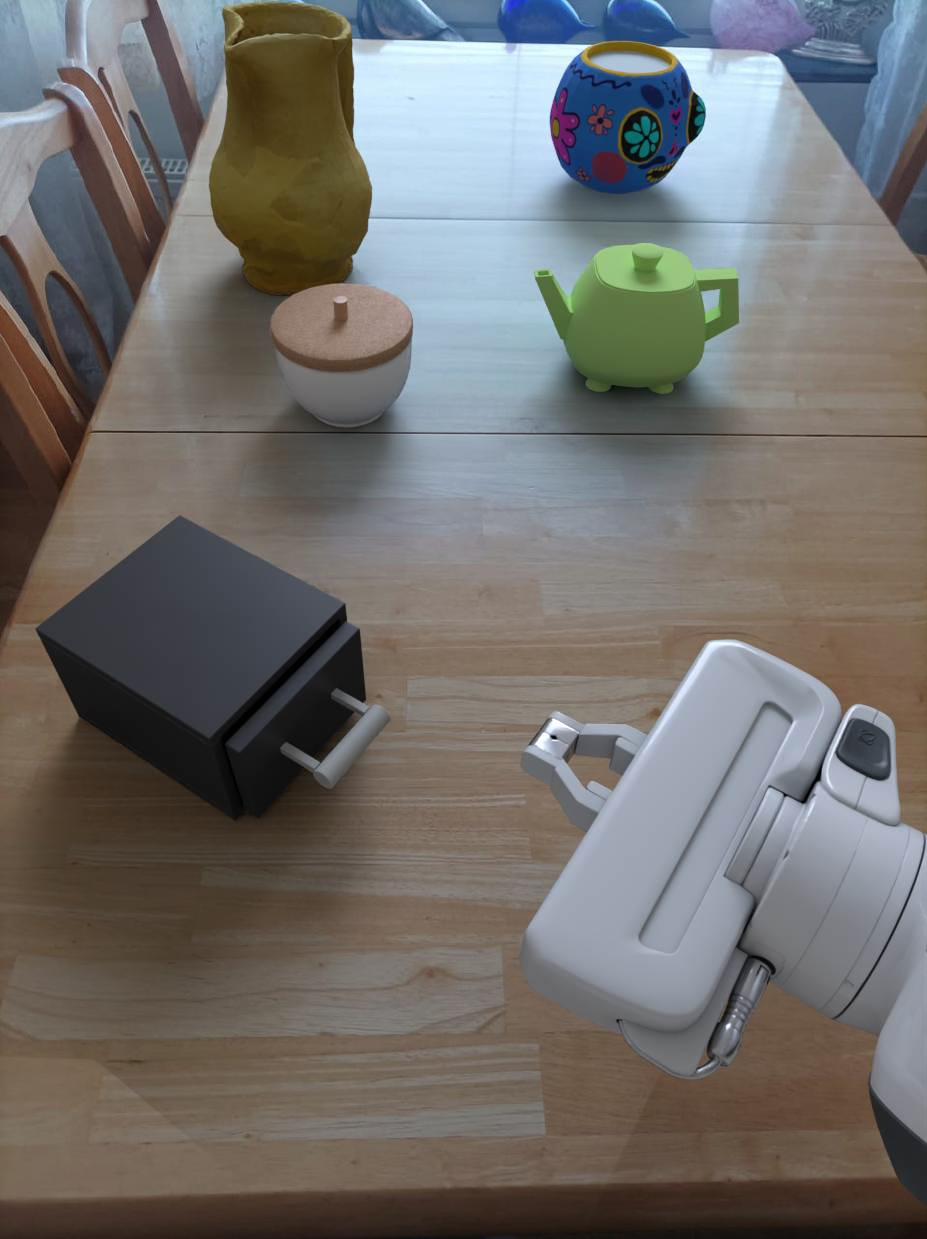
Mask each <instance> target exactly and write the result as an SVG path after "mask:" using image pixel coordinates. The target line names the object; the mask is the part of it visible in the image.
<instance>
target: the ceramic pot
mask: <svg viewBox="0 0 927 1239" xmlns="http://www.w3.org/2000/svg"><path fill="white" fill-rule="evenodd" d="M551 103H552V104H551V107H550V113H549V131H550V138H551V140H552V145H553V147H554V152H555V154H556V157H557V159H558V162H559V164H560V167H561V169H563V171H564V172H565V173H566V174H567V175H568V176H569V178H571V179H572V180H574V181H576V182H577V183H578V184H580V185H582V186H583V187H586V188H588V189H591V190H593V191H596V192H599V193H603V194H609V195H625V194H631V193H636V192H640V191H644V190H646V189H649V188H652V187H653V186H656V185H657V184H659V183H661V182H662V181H663V180H664V179H665V178H666V177H667V176H668V175H669V173H670V172H671V171H672V170H673V169H674V167H675V166H676V165H677V163H678V162H679V160H681V157H682V155H683V153H684V152H685V150H686V149H687V147H688V146H689V145H690V144H691V143H693V142H694V141H695V140H696V139H697V138H698V137H699V136H700V134H701V133H702V131H703V129H704V127H705V122H706V117H707V107H706V104H705V102H704V100H703V99H702V98H701V96H700V95H699V94H697V93H696V92H695V90H694V89H693V87H692V83H691V81H690V78H689V75H688V73H687V70H686V69H685V68H684V66H683V64H682V63H681V62H680V60H679V58H678V57H677V56H676V55H674V53H672V52H670V51H668V50H667V49H665V48H662V47H660V46H657V45H654V44H650V43H646V42H639V41H631V40H612V41H602V42H599V43H595V44H592V45H590V46H587V47H586V48H585V49H583V50H581V52H580V53H578V54H577V55H576V56H574V58H573V59H572V60H571V61H570V63H569V64H568V65H567V67H566V69H565V70H564V72H563V73H562V75H561V79H560V81H559V83H558V85H557V87H556V90H555V93H554V97H553V99H552V102H551Z"/></svg>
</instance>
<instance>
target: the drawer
mask: <svg viewBox="0 0 927 1239" xmlns="http://www.w3.org/2000/svg"><path fill="white" fill-rule="evenodd" d="M362 648H363V646H362V636H361V629H360V627H358V626H356V625H354V624H353V623H351V622H349V621H348V620H347V621H345V622H344V623H343V624H342V625H341V626H340V627H339V628H338V629H337V630H336V631H335V632H334V633H333V634H332V635H331V636H330V637H329V638H328V639H327V640H326V641H325V634H323V635H322V636H321V637H320V638H319V639H318V640H317V641H316V642H315V643H314V644H313V645H312V646H311V647H310V648H309V649H308V650H307V651H306V652H305V653H304V654H303V655H302V656H301V657H300V658H299V659H298V660H297V661H296V662H295V663H294V664H293V665H292V666H291V667H290V668H289V669H288V670H287V671H286V672H285V673H284V674H283V675H282V676H281V677H280V678H279V679H278V680H277V681H276V682H275V683H274V684H273V685H272V686H271V687H270V688H269V689H268V690H267V691H266V692H265V693H264V694H263V695H262V696H261V697H260V698H259V699H258V700H257V701H256V702H255V703H254V704H253V705H252V706H251V707H250V708H249V709H248V710H247V711H246V712H245V713H244V714H243V715H242V716H241V717H240V718H239V719H238V720H237V721H236V722H235V723H234V724H233V725H232V726H231V727H230V728H229V729H228V730H227V731H226V732H225V733H224V734H223V735H222V736H221V737H220V738H221V740H222V744H223V747H224V750H225V753H226V757H227V760H228V763H229V766H230V770H231V773H232V776H233V779H234V783H235V786H236V789H237V788H238V789H239V793H240V796H241V799H242V803H243V806H244V809H245V812H246V813H247V814H249V815H251V816H252V817H254V818H256V819H257V820H259V819H260V818H262V816H263V815H265V813H266V812H267V811H268V810H269V809H270V807H271V806H272V805H273V804H275V802H276V801H277V800H278V799H279V798H280V796H281V795H283V793H284V792H285V791H286V790H287V788H289V786H290V785H291V784H292V783H293V782H294V781H295V780H296V779H297V777H298V776H299V775H300V774H301V773H302V772H303V771H304V769H307V770H308V771H309V772H311V773H312V775H313V777H314V779H315V781H317V783H319V784H320V786H322V787H324V788H326V789H329V790H330V789H333V788H334V787H335V785H336V784H337V783H338V782H339V781H340V780H341V779H342V777H343V776H344V775H345V774H346V773H347V771H348V770H349V769H350V768H351V767H352V766H353V765H354V763H355V762H356V761H357V760H358V759H359V758H360V757H361V756H362V754H363V753H364V752H365V751H366V750H367V748H369V746H370V745H371V744H372V743H373V742H374V740H375V739H376V738H377V737H378V736H379V735H380V733H381V732H383V730H384V729H385V728H386V726H387V725H388V724H389V723H390V722H391V718H392V717H391V715H390V713H389V712H388V711H387V709H386V708H384V707H383V706H381V705H379V704H372V705H371V706H368V705H367V704H365V702H366V701H367V692H366V681H365V671H364V670H365V669H364V657H363V649H362ZM354 714H356V715H358V716H360V719H358V721H357V722H356V723H355V725H353V727H352V728H350V730H349V731H348V732H347V734H346V735H345V736H344V737H343V738H342V739H341V740H340V741H339V742H338V743H337V744H336V746H335V747H334V748H333V749H332V751H330V752H329V754H328V755H327V756H326V757H325V758H324V759H323V760H322V761H321V762H320V761H319V760H317V759H315V757H316V756H317V755H318V754H320V752H321V751H322V749H324V748H325V746H326V745H327V744H328V743H329V742H330V741H331V740H332V739H333V737H335V736H336V734H337V733H338V732H339V731H340V730H341V729H342V727H343V726H344V725H345V724H346V723H347V722H348V721H349V720H350V719H351V717H352V716H353V715H354Z"/></svg>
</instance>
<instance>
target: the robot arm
mask: <svg viewBox="0 0 927 1239" xmlns="http://www.w3.org/2000/svg"><path fill="white" fill-rule="evenodd" d="M842 713H843V712H842V706H841V702H840V701H839V698H838V696H836V694H835V693H834V692H833V690H832V689H831V688H829V687H828V686H827V685H826V684H824V683H823V682H822V681H821V680H819V679H818V678H816V677H814V675H811V674H809V673H808V672H806V671H804V670H802V669H800V668H798V667H796V666H795V665H793V664H791V663H789V662H787V661H785V660H783V659H781V658H779V657H777V656H775V655H772V654H771V653H768V652H767V651H764V650H762V649H760V648H757V647H756V646H753V645H752V644H749V643H746V642H744V641H740V640H738V639H732V638H727V639H726V638H725V639H711V640H708V641H706V642H705V643H704V645H703V647H702V648H701V650H700V651H699V653H698V655H697V656H696V658H695V659H694V661H693V662H692V664H691V666H690V667H689V669H688V670H687V672H686V674H685V675H684V677H683V678H682V680H681V682H679V684H678V686H677V688H676V689H675V691H674V693H673V695H672V696H671V697H670V699H669V700H668V702H667V704H666V706H665V707H664V709H663V710H662V712H661V713H660V715H659V717H658V718H657V720H656V721H655V723H654V724H653V726H652V728H651V729H650V731H649V732H648V734H646V733H644V732H642V731H640V730H638V729H637V728H634V727H633V726H630V725H629V724H625V723H624V724H623V723H585V724H583V723H581V722H579V721H578V720H576V719H573V718H571V717H570V716H568V715H566V714H565V713H564V714H563V713H562V712H560V711H556V710H554V711H552V712H551V713H550V715H549V716H548V717H547V718H546V719H545V721H544V723H543V724H542V726H541V727H540V728H539V730H538V732H537V733H536V734H535V735H534V736H533V738H532V739H531V741H530V742H529V743H528V745H527V746H526V747H525V748H524V750H523V751H522V752H521V757H520V768H521V769H522V771H523V772H525V773H526V774H528V775H529V776H531V777H533V778H535V779H536V780H538V781H540V782H541V783H543V784H545V785H547V786H548V787H550V792H551V793H552V794H553V796H554V798H555V799H556V801H557V802H558V804H559V806H560V808H561V809H562V811H563V812H564V814H565V816H566V818H567V820H569V822H570V824H571V825H573V826H575V827H576V828H578V829H580V830H581V831H583V832H585V835H584V836H583V838H582V840H581V841H580V843H578V844H579V845H577V848H576V849H575V851H574V852H573V853H572V856H570V859H569V860H568V862H567V863H566V865H565V867H564V868H563V870H562V872H561V873H560V875H559V876H558V878H557V879H556V881H555V882H554V884H553V886H552V887H551V888H550V890H549V892H548V894H547V895H546V896H545V899H544V900H543V901H542V903H541V905H540V906H539V908H538V910H537V911H536V913H535V914H534V915H533V918H532V919H531V920H530V923H529V924H528V926H527V927H526V929H525V931H524V934H523V936H522V940H521V941H522V942H521V945H520V949H519V956H518V961H519V965H520V968H521V971H522V974H523V976H524V979H525V982H526V984H527V985H528V986H529V988H530V989H531V990H532V991H534V992H535V993H537V994H538V995H540V996H541V997H543V998H545V999H546V1000H548V1001H550V1002H552V1003H554V1004H555V1005H557V1006H559V1007H560V1008H563V1009H565V1010H567V1011H568V1012H570V1013H572V1014H573V1015H576V1016H578V1017H580V1018H582V1019H584V1020H586V1021H588V1022H591V1024H594V1025H596V1026H598V1027H600V1028H603V1029H605V1030H607V1031H610V1032H612V1033H614V1034H616V1035H620V1036H622V1037H623V1039H624V1041H625V1043H626V1044H627V1046H628V1047H629V1048H630V1049H631V1050H632V1051H633V1052H634V1053H635V1054H636V1055H638V1056H639V1057H640V1058H641V1059H643V1060H645V1061H647V1062H648V1063H649V1064H651V1065H653V1066H654V1067H656V1068H657V1069H658V1070H660V1071H662V1072H663V1073H665V1074H666V1075H668V1076H671V1077H672V1078H675V1079H678V1080H683V1081H698V1080H701V1079H705V1078H708V1077H709V1076H711V1075H712V1074H714V1073H715V1072H716V1071H717V1070H718V1069H719V1067H722V1068H724V1067H725V1068H728V1067H729V1066H730V1065H731V1064H732V1063H733V1061H734V1060H735V1059H736V1057H737V1056H738V1053H739V1051H740V1049H741V1046H742V1044H743V1041H744V1033H745V1030H746V1028H747V1026H748V1024H749V1021H750V1020H751V1018H752V1017H753V1015H754V1013H755V1011H756V1010H757V1008H758V1006H759V1005H760V1003H761V1000H762V998H763V996H764V993H765V991H766V989H767V986H768V985H769V984H771V985H772V986H774V987H776V988H777V989H779V990H780V991H783V992H784V993H785V994H787V995H789V996H790V997H792V998H794V999H796V1000H798V1001H799V1002H802V1003H803V1004H805V1005H806V1006H808V1007H810V1008H812V1010H815V1011H816V1012H818V1013H820V1014H821V1015H823V1016H825V1017H826V1018H829V1019H830V1020H832V1021H834V1022H837V1023H839V1024H842V1025H845V1026H848V1027H851V1028H853V1029H857V1030H861V1031H863V1032H866V1033H868V1034H871V1035H873V1036H875V1037H877V1042H876V1046H875V1049H874V1054H873V1060H872V1065H871V1070H870V1072H869V1073H868V1074H869V1075H868V1077H867V1087H868V1088H867V1089H868V1094H869V1099H870V1103H871V1107H872V1113H873V1116H874V1119H875V1120H874V1121H875V1122H876V1126H877V1129H878V1132H879V1135H880V1138H881V1140H882V1144H883V1146H884V1150H885V1151H886V1154H887V1155H888V1159H889V1161H890V1163H891V1166H892V1168H893V1171H894V1174H895V1177H896V1178H897V1179H898V1181H899V1182H900V1183H901V1185H902V1186H903V1187H904V1188H905V1189H906V1190H907V1191H908V1192H909V1193H910V1194H911V1195H912V1196H913V1197H915V1199H917V1200H918V1202H920V1203H922V1204H923V1205H924V1206H925V1207H927V834H926V833H925V832H922V831H920V830H918V829H916V828H915V827H913V826H910V825H908V824H906V823H904V822H902V821H900V820H901V816H902V814H901V813H902V811H901V802H900V794H899V784H898V783H899V782H898V770H897V745H896V742H897V741H896V740H897V739H896V728H895V724H894V722H893V720H892V719H891V717H890V716H888V715H887V714H885V713H884V712H882V711H881V710H878V709H876V708H875V707H872V706H868V705H865V704H861V703H856V704H853V705H851V706H850V707H849V708H848V709H847V711H846V712H845V714H842ZM842 716H843V717H842ZM573 756H581V757H591V758H600V759H610V761H609V765H608V768H609V770H611V771H612V772H614V773H616V774H618V775H620V776H621V777H620V778H619V781H618V782H617V784H616V785H615V787H614V788H613V790H612V789H609V788H608V787H606V786H604V785H602V784H600V783H598V782H597V781H595V780H591V781H589V782H588V783H587V786H586V788H585V787H584V786H583V784H582V782H580V780H579V778H578V777H577V776H576V774H575V773H574V771H573V770H572V768H570V766H569V765H568V764H569V762H570V761H571V760H572V758H573ZM723 1011H724V1012H723ZM722 1013H723V1014H722ZM705 1051H706V1052H705ZM704 1053H705V1054H706V1057H707V1058H708V1059H709V1060H708V1061H707V1062H706V1063H705V1064H702V1065H701V1066H699V1064H700V1061H701V1059H702V1057H703V1055H704Z"/></svg>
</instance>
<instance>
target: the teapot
mask: <svg viewBox="0 0 927 1239" xmlns="http://www.w3.org/2000/svg"><path fill="white" fill-rule="evenodd" d="M533 274H534V279H535V282H536V284H537V287H538V289H539V292H540V294H541V297H542V299H543V301H544V304H545V306H546V308H547V311H548V313H549V315H550V317H551V320H552V322H553V325H554V327H555V329H556V332H557V334H558V336H559V339H560V340H563V345H564V349H565V351H566V353H567V355H568V357H569V360H570V361H571V363H572V364H573V366H574V367H575V369H576V370H577V371H578V372H579V373H580V374H581V375H582V376H584V377H586V378H587V380H586V381H585V385H586V387H587V388H588V389H589V390H591V391H592V392H593V391H594V392H596V393H604V392H607V391H609V390H611V389H612V385H613V386H618V387H626V388H627V387H628V388H648V389H649V390H650V391H652V392H654V393H656V394H660V395H661V394H662V395H664V394H669V393H671V392H672V391H673V390H674V383H676V382H679V381H681V380H682V379H683V378H685V377H687V376H688V375H689V374H690V373H691V372H692V371H694V370H695V369H696V368H697V367H698V365H699V364H700V363H701V361H702V359H703V356H704V351H705V344H706V342H707V341H710V340H711V339H713V338H715V337H717V336H719V335H721V334H723V333H724V332H725V331H728V330H729V329H731V328H733V327H736V326H737V325H738V324H740V298H739V297H740V296H739V294H740V293H739V291H740V290H739V289H740V288H739V276H738V271H737V268H736V267H723V268H703V269H695V268H694V265H693V264H692V261H691V260H690V258H688V256H687V255H685V254H684V253H682V252H681V251H678V250H676V249H674V248H671V247H666V246H665V247H664V246H660V245H657V244H654V243H651V242H640V243H636V244H619V245H612V246H608V247H605V248H603V249H601V250H599V251H597V252H596V253H595V254H594V256H593V257H592V258H591V260H590V261H589V262H588V264H587V265H586V266H585V268H584V269H583V271H582V273H581V274H580V276H579V277H578V279H577V280H576V282H575V284H574V285H573V288H572V290H571V292H570V295H567V294H566V292H565V290H563V288H562V286H561V285H560V283H559V281H558V280H557V278H556V277H555V275H554V274H553V272H552V268H544V269H535V270H533ZM716 290H719V294H718V305H715V306H714V307H712V308H710V309H708V310H705V303H704V299H703V294H702V292H709V291H716Z"/></svg>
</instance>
